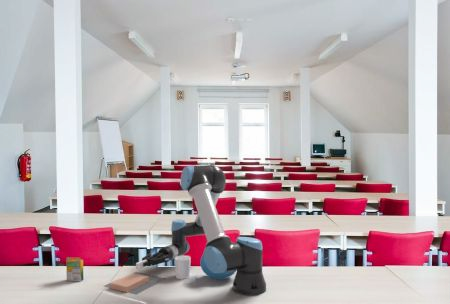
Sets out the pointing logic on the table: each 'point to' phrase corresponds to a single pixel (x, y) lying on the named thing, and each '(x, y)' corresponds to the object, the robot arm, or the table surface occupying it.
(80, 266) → the crayon box
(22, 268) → the table surface
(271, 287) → the table surface
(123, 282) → the tile
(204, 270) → the educational model
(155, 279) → the mat
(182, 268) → the white cup
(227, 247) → the robot arm
